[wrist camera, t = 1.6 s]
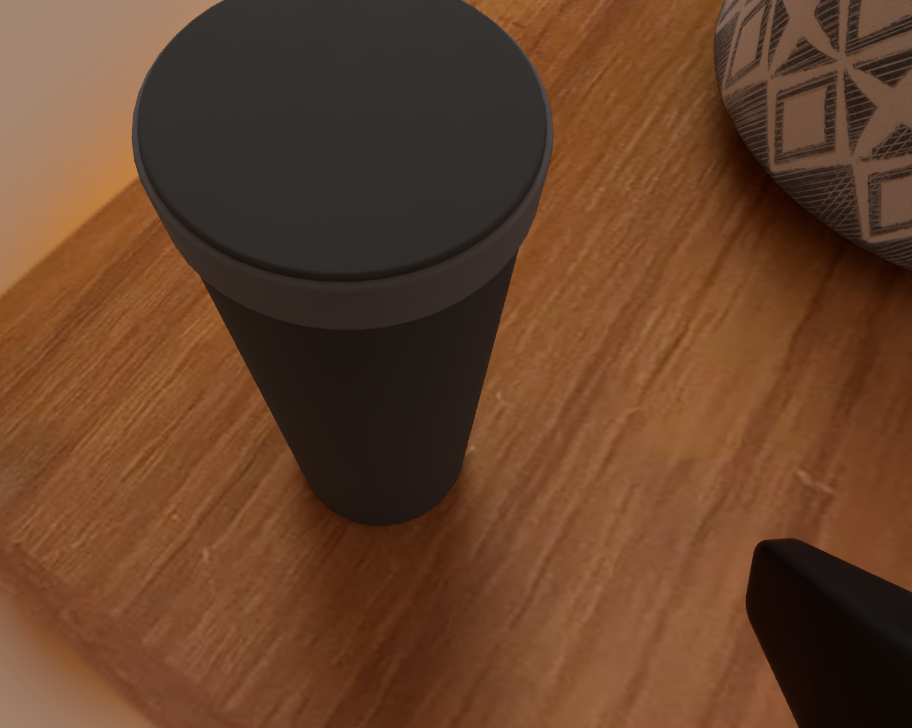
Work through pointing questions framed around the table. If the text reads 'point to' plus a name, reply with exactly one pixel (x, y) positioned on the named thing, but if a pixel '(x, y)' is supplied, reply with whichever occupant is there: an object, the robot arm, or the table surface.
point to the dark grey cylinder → (352, 220)
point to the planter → (827, 109)
